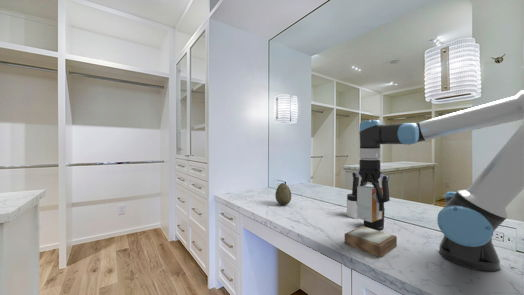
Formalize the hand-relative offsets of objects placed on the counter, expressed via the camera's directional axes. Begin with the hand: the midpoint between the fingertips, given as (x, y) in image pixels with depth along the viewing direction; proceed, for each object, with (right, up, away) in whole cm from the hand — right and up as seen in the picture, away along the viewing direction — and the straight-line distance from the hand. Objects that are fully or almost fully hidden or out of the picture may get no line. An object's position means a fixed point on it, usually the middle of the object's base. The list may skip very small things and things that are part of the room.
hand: (369, 216), depth 85 cm
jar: (+9, -12, +34) cm, 37 cm away
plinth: (0, -12, 0) cm, 12 cm away
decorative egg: (-29, -12, +58) cm, 66 cm away
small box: (0, -1, 0) cm, 1 cm away
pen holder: (+11, -12, +18) cm, 25 cm away
